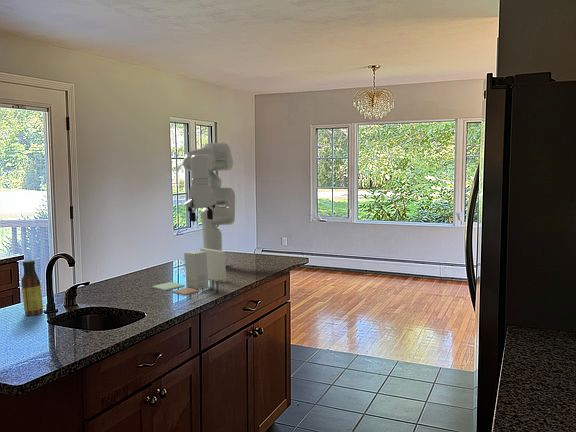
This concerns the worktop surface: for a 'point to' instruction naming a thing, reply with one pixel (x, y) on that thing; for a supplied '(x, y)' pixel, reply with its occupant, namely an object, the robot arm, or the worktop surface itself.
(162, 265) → the worktop surface
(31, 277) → the sauce bottle
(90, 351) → the worktop surface
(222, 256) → the screen
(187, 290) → the terracotta tile
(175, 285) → the green pad
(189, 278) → the skincare box
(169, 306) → the worktop surface
